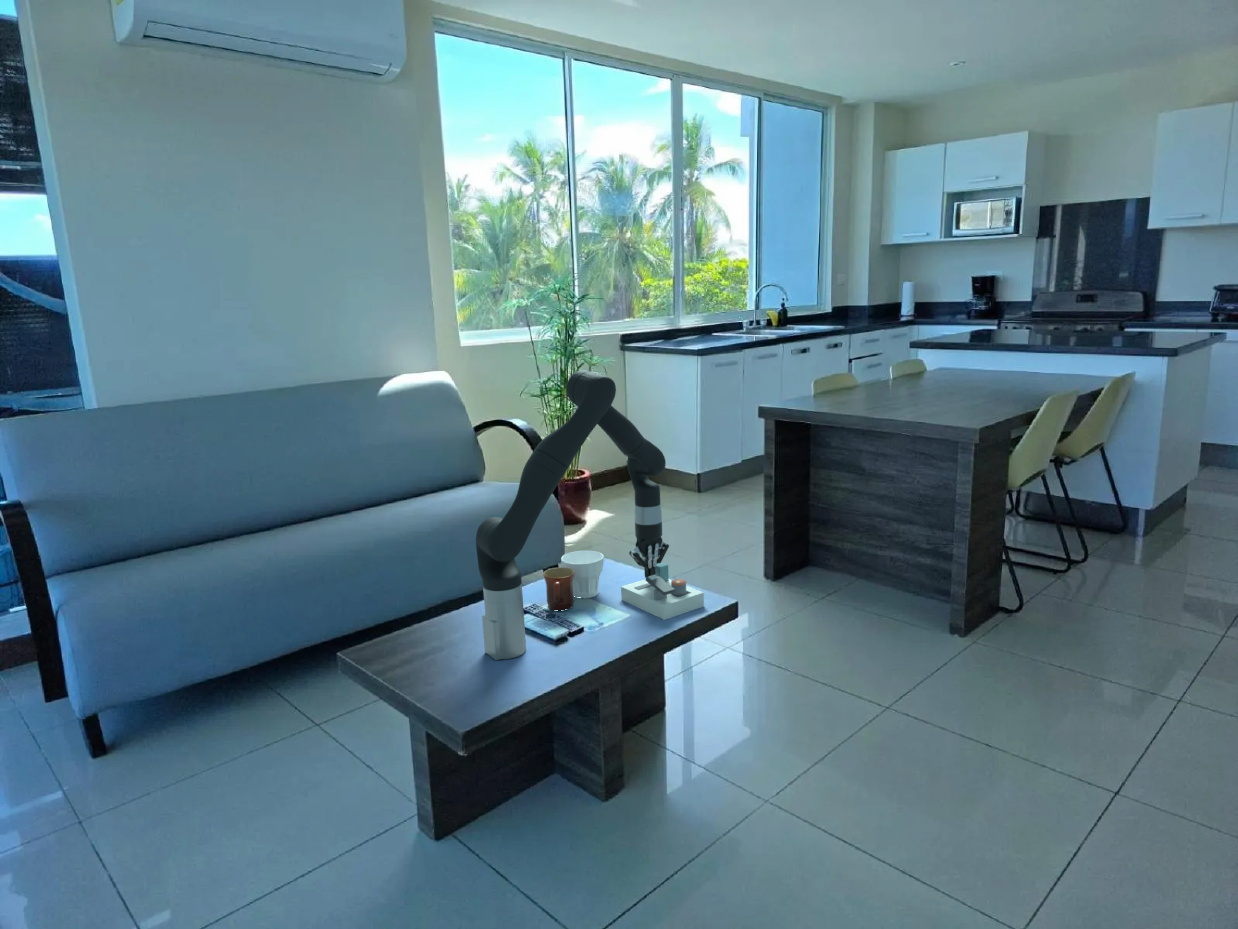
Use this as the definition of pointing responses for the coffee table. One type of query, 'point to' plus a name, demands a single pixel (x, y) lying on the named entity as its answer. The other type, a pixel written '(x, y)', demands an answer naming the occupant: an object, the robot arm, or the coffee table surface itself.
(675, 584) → the push button
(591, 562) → the cup
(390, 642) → the coffee table surface
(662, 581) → the rocker
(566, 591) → the mug
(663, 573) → the slider knob
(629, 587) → the panel
